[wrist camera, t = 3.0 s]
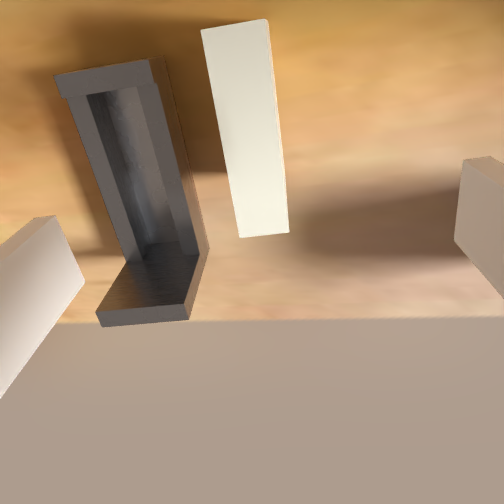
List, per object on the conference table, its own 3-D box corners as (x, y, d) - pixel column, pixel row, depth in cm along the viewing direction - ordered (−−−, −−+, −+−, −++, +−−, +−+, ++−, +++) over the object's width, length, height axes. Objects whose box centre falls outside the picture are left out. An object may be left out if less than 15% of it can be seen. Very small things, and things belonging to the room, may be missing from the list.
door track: (79, 69, 30) (-6, 88, 21) (163, 55, 29) (113, 68, 20) (142, 255, 38) (102, 327, 29) (209, 248, 38) (188, 319, 28)
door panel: (223, 29, 28) (194, 30, 18) (268, 21, 28) (264, 18, 17) (246, 173, 34) (234, 238, 23) (284, 168, 33) (289, 232, 23)
